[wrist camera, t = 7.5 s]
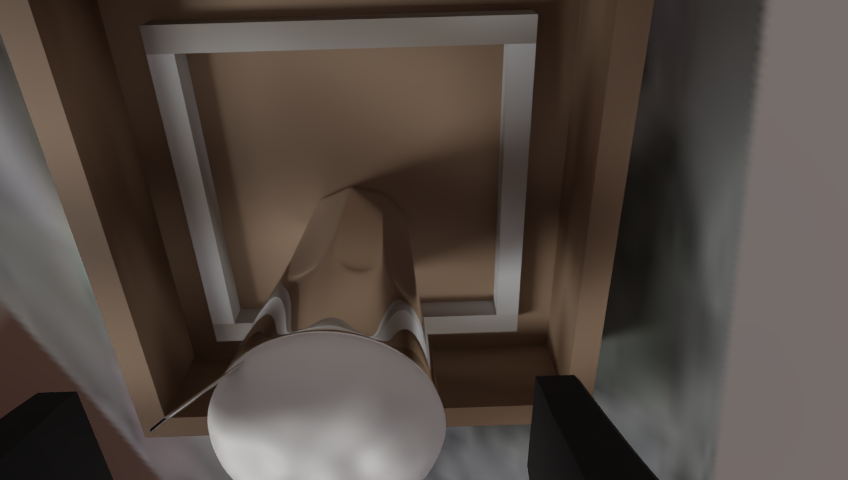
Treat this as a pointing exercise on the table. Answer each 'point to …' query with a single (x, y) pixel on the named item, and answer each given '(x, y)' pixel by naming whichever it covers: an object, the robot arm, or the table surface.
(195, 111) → the socket box
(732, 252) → the table surface
